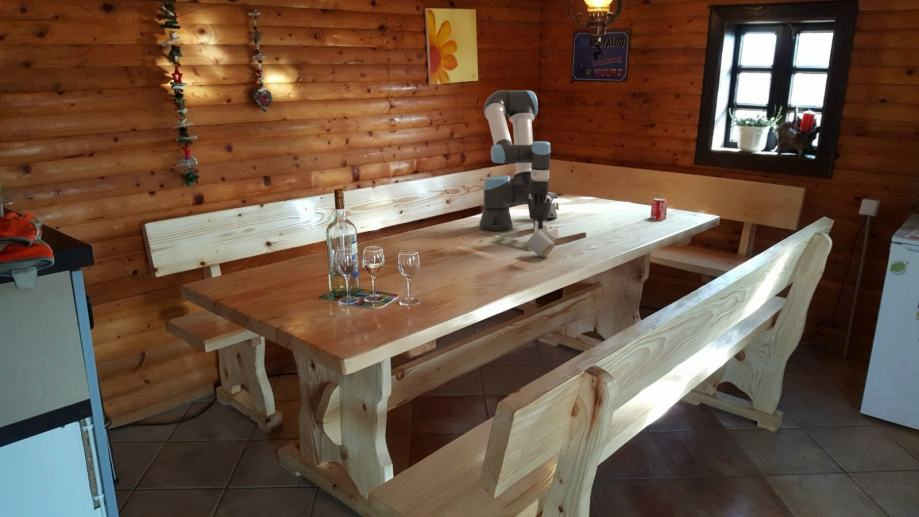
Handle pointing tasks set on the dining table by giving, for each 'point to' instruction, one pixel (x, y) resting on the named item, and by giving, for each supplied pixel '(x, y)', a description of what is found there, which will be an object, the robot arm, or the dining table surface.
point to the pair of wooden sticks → (510, 240)
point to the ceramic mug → (540, 244)
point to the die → (550, 232)
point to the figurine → (553, 206)
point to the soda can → (658, 209)
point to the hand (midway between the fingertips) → (537, 236)
